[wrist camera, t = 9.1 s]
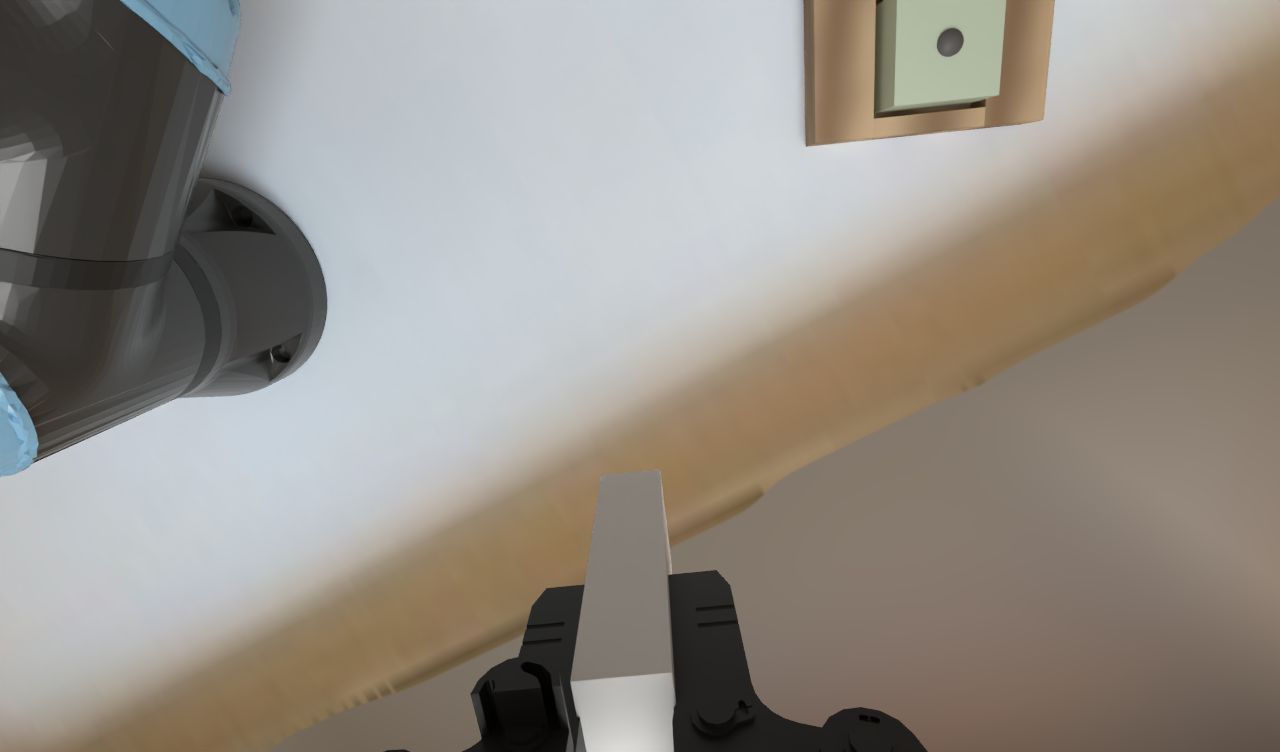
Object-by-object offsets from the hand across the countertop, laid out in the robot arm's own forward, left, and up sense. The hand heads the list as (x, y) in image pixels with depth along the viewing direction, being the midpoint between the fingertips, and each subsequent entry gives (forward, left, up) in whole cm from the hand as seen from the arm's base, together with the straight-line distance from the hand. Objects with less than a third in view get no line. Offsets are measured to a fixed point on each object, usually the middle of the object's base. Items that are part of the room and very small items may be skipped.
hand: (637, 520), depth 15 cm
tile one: (+19, +14, -28) cm, 36 cm away
